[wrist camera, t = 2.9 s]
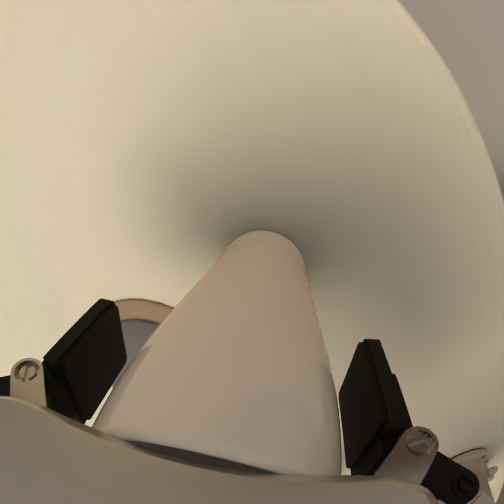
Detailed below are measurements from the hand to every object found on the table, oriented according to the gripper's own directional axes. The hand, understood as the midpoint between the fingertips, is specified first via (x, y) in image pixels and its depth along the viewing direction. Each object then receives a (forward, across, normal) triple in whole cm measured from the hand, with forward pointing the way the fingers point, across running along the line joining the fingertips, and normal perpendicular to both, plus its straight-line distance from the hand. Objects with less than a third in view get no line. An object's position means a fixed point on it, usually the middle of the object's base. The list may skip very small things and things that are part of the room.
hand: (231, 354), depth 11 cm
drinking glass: (+9, 0, 0) cm, 9 cm away
